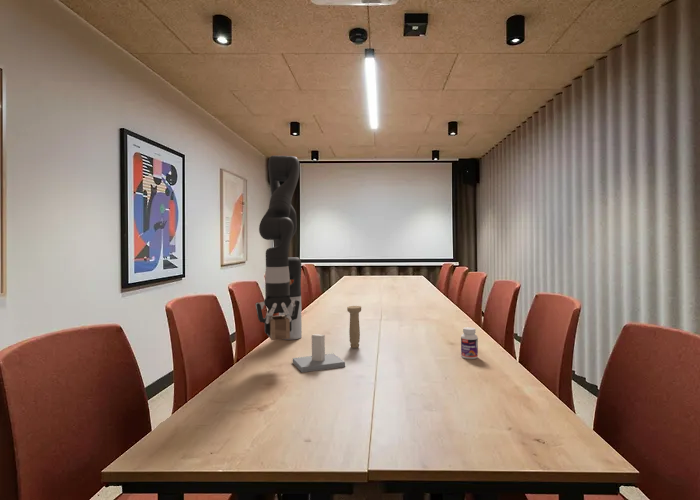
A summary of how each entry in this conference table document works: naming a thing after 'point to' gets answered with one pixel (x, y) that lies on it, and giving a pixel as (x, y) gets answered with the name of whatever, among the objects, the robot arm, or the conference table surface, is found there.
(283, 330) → the open cubby box
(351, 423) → the conference table surface
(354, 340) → the handle
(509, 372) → the conference table surface
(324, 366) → the base
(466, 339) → the pill bottle
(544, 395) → the conference table surface
